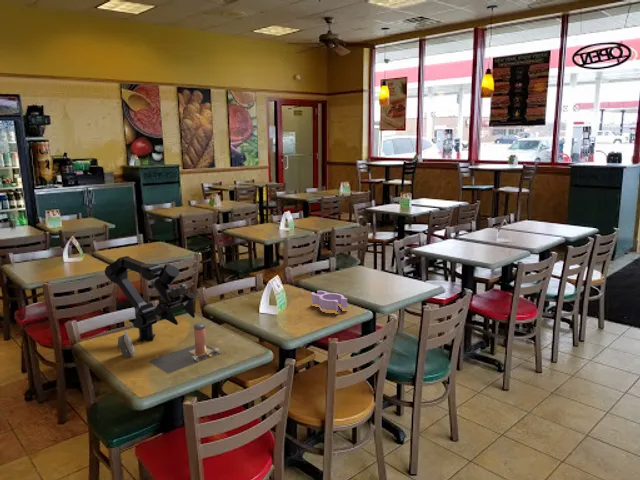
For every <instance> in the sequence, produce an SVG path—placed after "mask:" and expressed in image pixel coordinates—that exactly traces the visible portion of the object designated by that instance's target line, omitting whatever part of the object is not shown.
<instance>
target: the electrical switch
mask: <svg viewBox="0 0 640 480" xmlns="http://www.w3.org/2000/svg"><path fill="white" fill-rule="evenodd" d="M117 346H118V348H119V350H120V352H121V355H122V356H123V358H130V357H131V358H135V347H134V345H133V342H132V340H131V338H130V336H129V334H128V332H127V331H124V334H122V335H120V336H118V337H117Z"/></svg>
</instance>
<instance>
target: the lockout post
mask: <svg viewBox="0 0 640 480" xmlns="http://www.w3.org/2000/svg"><path fill="white" fill-rule="evenodd" d="M193 333H194V336H193V337H194V345H195V352H196V353H205V352H206V351H207V350H206V345H207V336H206V324H205V323H201V322H200V323H195V324H194V325H193Z"/></svg>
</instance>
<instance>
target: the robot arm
mask: <svg viewBox="0 0 640 480" xmlns="http://www.w3.org/2000/svg"><path fill="white" fill-rule="evenodd" d="M128 270H129V271H133V272H135V273H137V274H140V276H141V277H142V278H143V279H144V280H146V281H152V282H151V283H150V284H151V285H150V289H151V290H152V289H155V291H156V292H157V293H158V295H159V298H158V299H159V300H160V301H161V300H162V301H163V302H161V303H158V304H157V305H156V306H154V304H153V303H152V302H148V303H147V302H145V300H144V298H143V297H142V296H141V294H140V293H139V291H137V289H136V288H135V286H134V285H133V283H132V281H130V279H129V277H128V274H129V271H128ZM104 275H105V276H106V278H107V279H109V281H110V282H112V283H114V284H116V285H117V286H118V287H119V289H120V290H121V291H122V293H123V294H124V296H125V297H126V299H127V300H128V301H129V303H130V304H131V306H132V307H133V309H134V316H135V319H134V321H133V322H132V325H133V328H135V329H138V334H139V335H138V336H139V337H138V338H137V342H150V341H154V338H155V336H156V333H154V330H153V329H154V327H153V325H154V324H157V323H158V319H159V318H162V319H164V320H166V321H169V322H170V323H172V324H173V325H175V326H178V325H179V322H178V320H177V319H176V317H175V316H174V313H172V308H174V307H177V306H180V305H181V306H182V308H183V309H184V311H185V312H186V313H188V315H189V316H190V317H191V318H193V319H194V318H195V317H196V315H195V311H194V307H193V304H194V303H193V302H194V301H195V298H196V295H195V294H194V292H188V291H189V287H188V286H187V284H186V283H182V284H181V285H179V287H178V288H176V287H175V286H173V287H172V286H171V284H173V283H174V281H175V280H176V279H177V278H178V276H179V275H180V270H179V269H178V267H176V266H174V265H171V264H170V263H165V264H164V266H162V265H161V264H159V263H146V262H143V261H140V260H138V259H135V258H132V257H130V256H128V255H125V256H121V257H118V258H117V259H116V260H115V261H113V262H112V263H110V264H109V265H107V266H106V267H105V269H104ZM187 292H188V293H187Z"/></svg>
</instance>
